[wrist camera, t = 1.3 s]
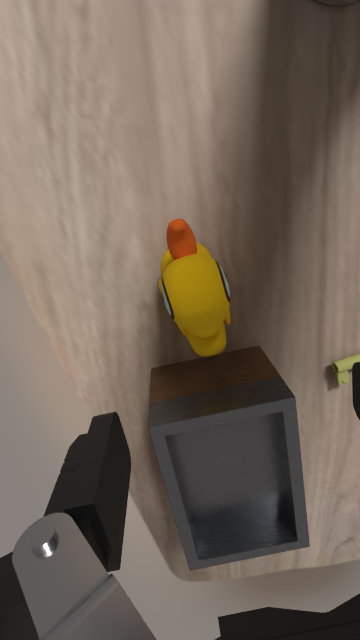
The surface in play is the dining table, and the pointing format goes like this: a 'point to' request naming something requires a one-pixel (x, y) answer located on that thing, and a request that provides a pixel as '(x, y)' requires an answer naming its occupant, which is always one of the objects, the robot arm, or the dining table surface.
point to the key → (344, 368)
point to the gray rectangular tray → (229, 457)
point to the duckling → (195, 290)
